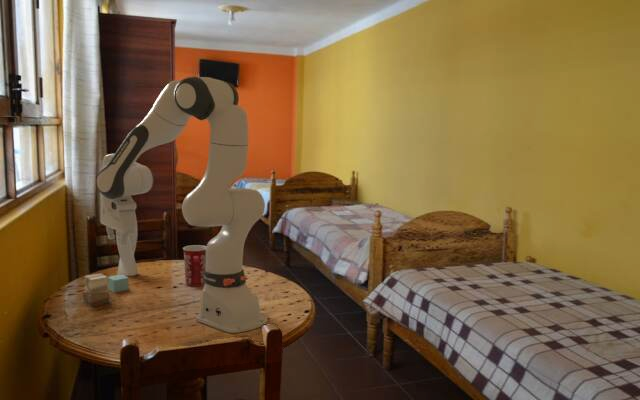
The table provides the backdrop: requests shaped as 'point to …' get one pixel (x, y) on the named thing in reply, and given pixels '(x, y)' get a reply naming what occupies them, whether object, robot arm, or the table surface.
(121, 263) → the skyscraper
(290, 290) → the table surface
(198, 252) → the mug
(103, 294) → the walnut base
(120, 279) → the teal block
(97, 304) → the mat
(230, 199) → the robot arm
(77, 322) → the table surface
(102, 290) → the maple block
